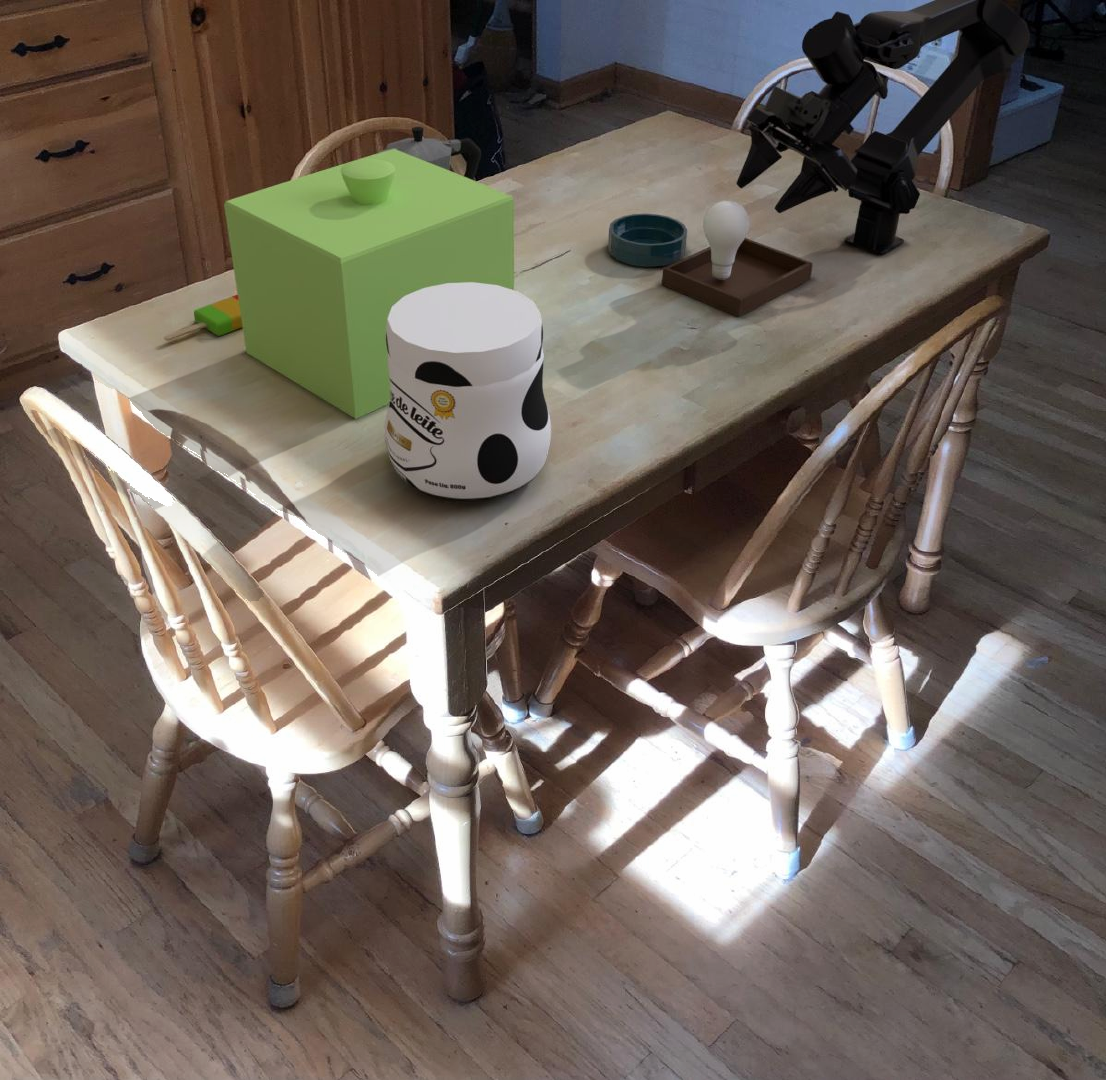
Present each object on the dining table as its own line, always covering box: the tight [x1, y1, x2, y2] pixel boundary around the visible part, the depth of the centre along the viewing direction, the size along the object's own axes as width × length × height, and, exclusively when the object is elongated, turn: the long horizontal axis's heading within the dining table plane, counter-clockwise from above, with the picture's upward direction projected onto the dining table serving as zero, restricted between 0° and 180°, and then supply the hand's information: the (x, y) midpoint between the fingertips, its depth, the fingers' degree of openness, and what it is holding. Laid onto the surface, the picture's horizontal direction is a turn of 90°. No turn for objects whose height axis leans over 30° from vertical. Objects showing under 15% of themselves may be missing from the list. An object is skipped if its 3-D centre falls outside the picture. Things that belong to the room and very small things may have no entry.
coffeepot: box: [376, 126, 482, 181], centre depth 168 cm, size 15×9×18 cm, turn 113°
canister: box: [223, 149, 515, 420], centre depth 144 cm, size 25×21×23 cm
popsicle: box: [163, 294, 243, 342], centre depth 155 cm, size 6×15×2 cm, turn 135°
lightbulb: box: [702, 200, 751, 280], centre depth 164 cm, size 6×6×11 cm
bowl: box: [607, 213, 688, 268], centre depth 174 cm, size 11×11×4 cm
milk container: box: [384, 282, 552, 502], centre depth 125 cm, size 17×17×18 cm
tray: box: [661, 237, 814, 318], centre depth 167 cm, size 16×13×2 cm
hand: (757, 198), depth 162 cm, fingers open, 9 cm apart
